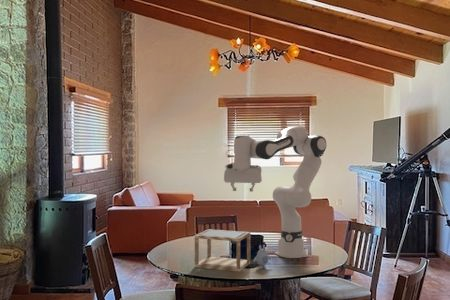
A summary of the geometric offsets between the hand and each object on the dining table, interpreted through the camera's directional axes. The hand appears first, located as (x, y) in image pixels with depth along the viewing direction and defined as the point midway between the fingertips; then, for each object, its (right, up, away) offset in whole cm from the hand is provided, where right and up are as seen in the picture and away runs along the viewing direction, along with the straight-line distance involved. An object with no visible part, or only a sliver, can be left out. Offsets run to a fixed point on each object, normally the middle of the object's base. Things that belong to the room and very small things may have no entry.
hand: (242, 191), depth 247 cm
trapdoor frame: (-11, -38, -4) cm, 40 cm away
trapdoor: (-11, -25, -4) cm, 28 cm away
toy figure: (+9, -39, -10) cm, 41 cm away
